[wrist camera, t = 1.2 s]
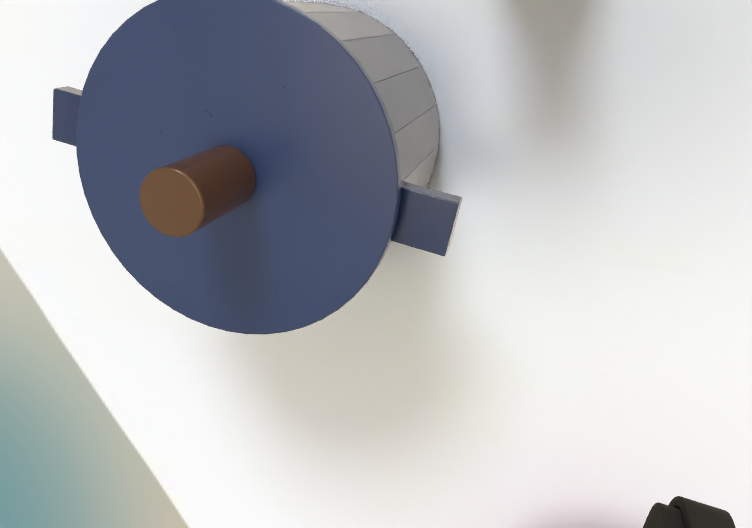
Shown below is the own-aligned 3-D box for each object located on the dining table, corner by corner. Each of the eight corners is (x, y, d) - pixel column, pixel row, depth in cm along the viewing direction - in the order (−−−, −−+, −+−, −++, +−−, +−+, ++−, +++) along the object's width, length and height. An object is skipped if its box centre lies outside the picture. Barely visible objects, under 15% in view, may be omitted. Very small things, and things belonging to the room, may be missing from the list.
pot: (187, -32, 38) (43, -47, 28) (518, 49, 35) (495, 64, 25) (166, 195, 44) (39, 253, 33) (452, 282, 41) (410, 376, 30)
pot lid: (100, -48, 28) (-6, -61, 23) (443, 36, 26) (410, 42, 20) (86, 271, 34) (-2, 318, 29) (365, 364, 31) (324, 433, 26)
